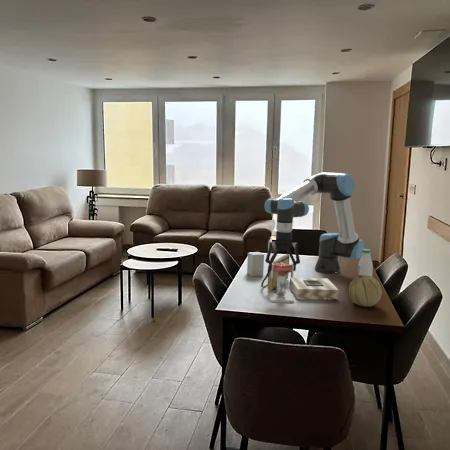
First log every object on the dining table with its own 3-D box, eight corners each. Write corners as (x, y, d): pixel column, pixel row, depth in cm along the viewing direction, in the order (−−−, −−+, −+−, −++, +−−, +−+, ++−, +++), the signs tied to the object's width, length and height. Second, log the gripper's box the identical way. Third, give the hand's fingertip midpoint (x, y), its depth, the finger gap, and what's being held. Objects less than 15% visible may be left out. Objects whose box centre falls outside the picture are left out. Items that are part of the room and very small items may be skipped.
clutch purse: (277, 277, 247) (278, 251, 244) (289, 279, 244) (290, 253, 241) (257, 291, 220) (259, 262, 218) (270, 293, 217) (272, 264, 215)
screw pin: (270, 291, 213) (271, 261, 211) (288, 291, 213) (290, 262, 211) (272, 297, 204) (274, 266, 202) (291, 297, 204) (293, 266, 202)
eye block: (326, 287, 230) (327, 277, 229) (337, 299, 210) (338, 288, 209) (289, 286, 229) (290, 276, 228) (296, 298, 209) (297, 287, 208)
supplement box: (263, 275, 249) (264, 254, 247) (251, 276, 246) (252, 255, 244) (258, 272, 256) (258, 251, 254) (246, 273, 253) (247, 252, 251)
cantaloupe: (387, 310, 197) (390, 278, 195) (359, 312, 193) (362, 280, 191) (367, 299, 211) (370, 270, 209) (341, 301, 207) (343, 271, 205)
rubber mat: (289, 295, 214) (289, 293, 214) (294, 302, 204) (294, 300, 203) (267, 294, 214) (267, 292, 214) (270, 302, 203) (270, 300, 203)
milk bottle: (373, 285, 237) (376, 249, 234) (367, 288, 231) (370, 251, 228) (360, 282, 242) (363, 247, 239) (353, 285, 236) (356, 249, 233)
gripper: (262, 231, 200) (260, 279, 203) (308, 233, 200) (305, 279, 204) (260, 229, 207) (258, 274, 211) (305, 230, 208) (302, 275, 211)
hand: (281, 277), depth 207 cm, fingers closed on screw pin, 9 cm apart
